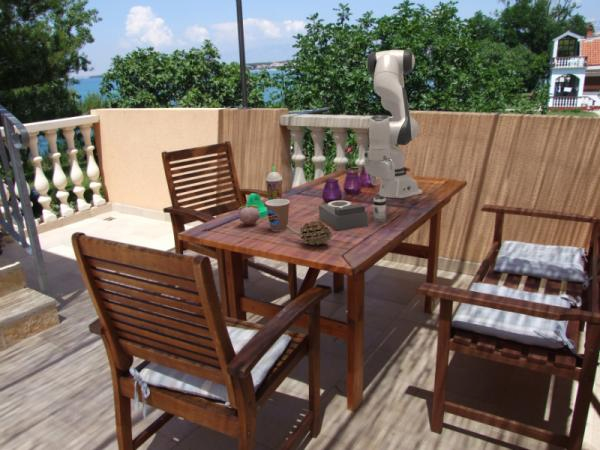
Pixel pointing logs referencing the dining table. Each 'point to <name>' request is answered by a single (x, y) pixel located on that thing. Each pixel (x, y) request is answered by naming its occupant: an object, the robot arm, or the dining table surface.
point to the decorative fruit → (248, 214)
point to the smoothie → (274, 185)
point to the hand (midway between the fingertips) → (379, 187)
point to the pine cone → (314, 232)
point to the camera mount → (255, 200)
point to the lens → (379, 209)
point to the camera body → (343, 215)
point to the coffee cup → (278, 214)
